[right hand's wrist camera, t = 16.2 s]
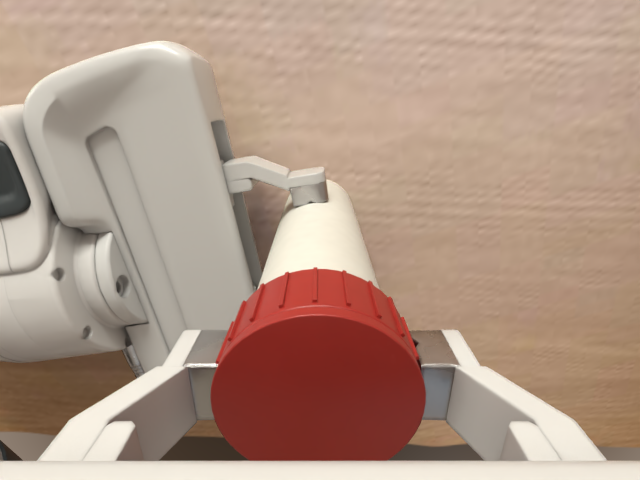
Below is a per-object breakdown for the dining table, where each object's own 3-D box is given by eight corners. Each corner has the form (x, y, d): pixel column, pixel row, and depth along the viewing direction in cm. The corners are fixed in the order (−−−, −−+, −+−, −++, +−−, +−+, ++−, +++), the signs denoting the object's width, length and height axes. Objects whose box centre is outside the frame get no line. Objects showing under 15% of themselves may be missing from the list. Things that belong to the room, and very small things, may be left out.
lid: (330, 227, 9) (333, 265, 7) (441, 353, 11) (472, 416, 9) (193, 335, 10) (160, 396, 8) (310, 435, 12) (307, 508, 10)
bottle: (366, 205, 23) (444, 376, 9) (324, 255, 25) (333, 474, 10) (312, 164, 22) (299, 278, 8) (271, 217, 24) (195, 402, 9)
